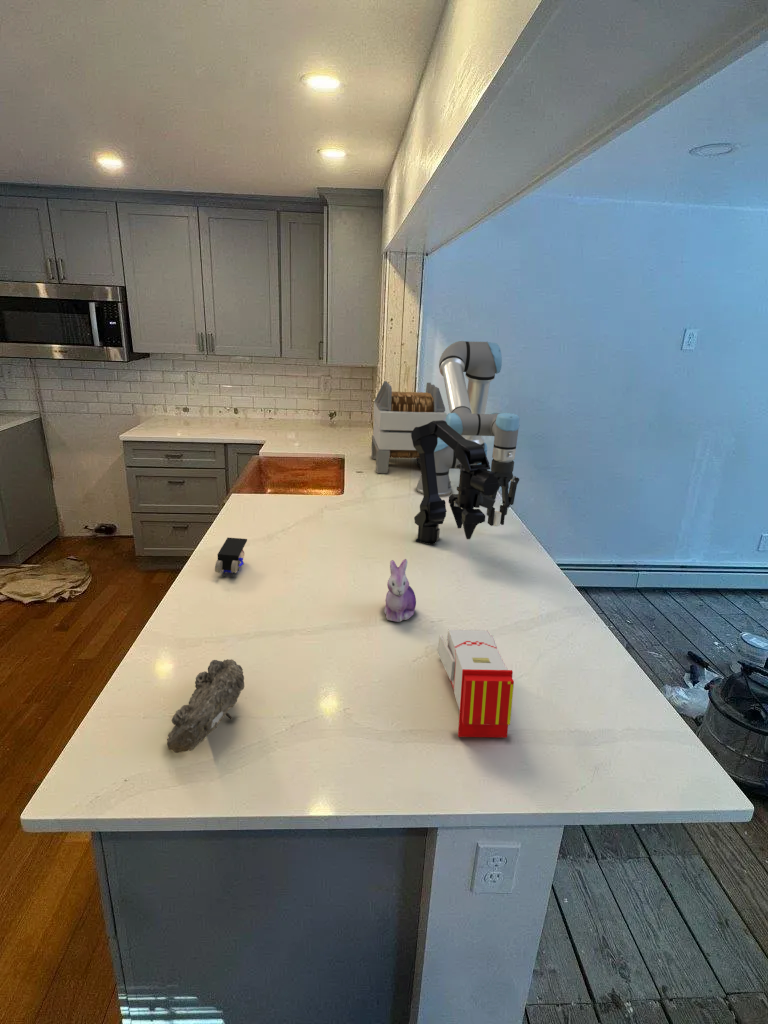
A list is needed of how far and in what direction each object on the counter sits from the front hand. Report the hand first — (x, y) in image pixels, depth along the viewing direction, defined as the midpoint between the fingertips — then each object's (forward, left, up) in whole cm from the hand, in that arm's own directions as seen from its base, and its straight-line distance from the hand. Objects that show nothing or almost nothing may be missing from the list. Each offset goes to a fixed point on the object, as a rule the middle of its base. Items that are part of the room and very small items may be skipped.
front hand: (463, 533), depth 177 cm
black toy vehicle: (-58, -39, -10) cm, 71 cm away
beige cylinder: (+4, +27, -5) cm, 28 cm away
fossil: (-21, -92, -10) cm, 95 cm away
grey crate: (-59, +99, -10) cm, 116 cm away
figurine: (-5, -40, -10) cm, 41 cm away
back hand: (+4, +27, -5) cm, 28 cm away
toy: (+21, -62, -10) cm, 66 cm away
